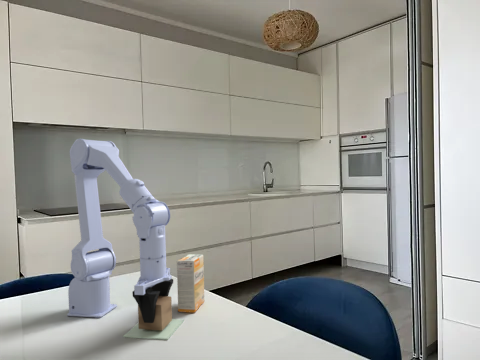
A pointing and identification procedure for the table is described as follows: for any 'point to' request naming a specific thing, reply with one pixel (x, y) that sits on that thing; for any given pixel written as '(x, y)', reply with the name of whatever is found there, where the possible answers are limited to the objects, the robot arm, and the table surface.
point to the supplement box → (190, 282)
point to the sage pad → (155, 331)
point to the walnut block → (158, 315)
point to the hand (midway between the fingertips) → (154, 316)
